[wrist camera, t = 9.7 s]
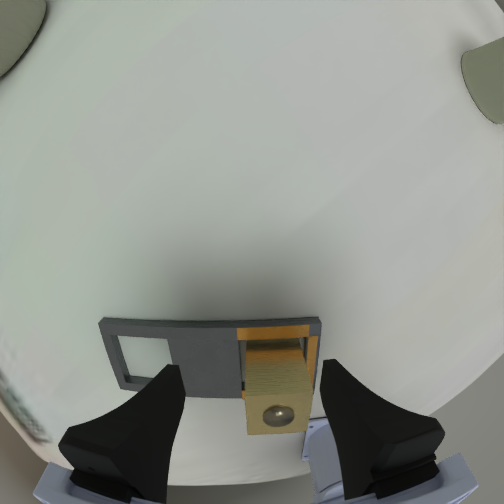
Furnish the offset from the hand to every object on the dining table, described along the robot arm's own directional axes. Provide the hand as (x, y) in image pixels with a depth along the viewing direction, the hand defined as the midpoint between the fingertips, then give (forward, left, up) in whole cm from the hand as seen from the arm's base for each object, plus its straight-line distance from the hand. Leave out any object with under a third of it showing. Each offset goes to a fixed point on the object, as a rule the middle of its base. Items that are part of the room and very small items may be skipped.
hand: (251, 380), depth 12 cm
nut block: (-6, -2, -10) cm, 12 cm away
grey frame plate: (-6, +4, -10) cm, 13 cm away
